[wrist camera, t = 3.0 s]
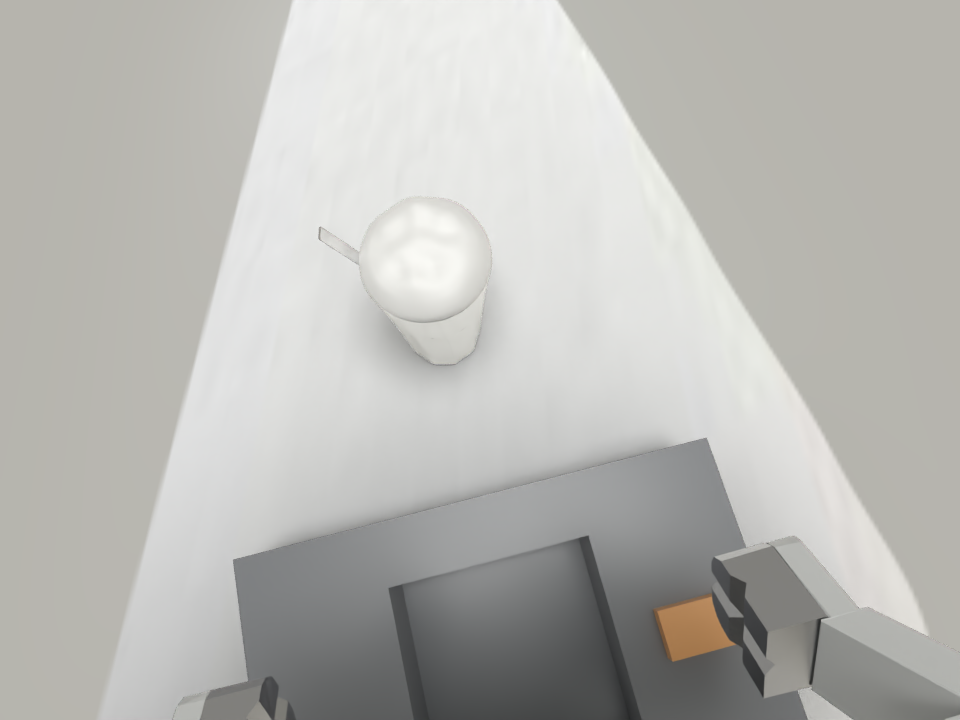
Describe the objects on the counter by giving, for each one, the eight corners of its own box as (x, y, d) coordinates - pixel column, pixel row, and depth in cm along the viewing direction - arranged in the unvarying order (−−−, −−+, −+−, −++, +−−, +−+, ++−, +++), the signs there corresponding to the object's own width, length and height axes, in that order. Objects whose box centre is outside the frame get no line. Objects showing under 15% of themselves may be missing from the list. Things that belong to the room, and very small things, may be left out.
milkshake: (381, 289, 29) (323, 167, 19) (492, 287, 29) (490, 164, 19) (377, 380, 27) (313, 300, 18) (493, 379, 27) (492, 297, 18)
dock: (320, 884, 22) (276, 972, 18) (273, 555, 25) (225, 560, 21) (779, 755, 23) (847, 808, 19) (675, 451, 26) (712, 435, 22)
